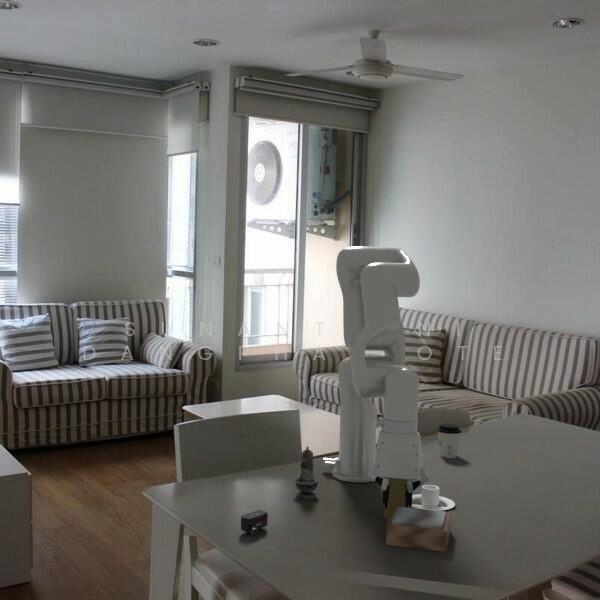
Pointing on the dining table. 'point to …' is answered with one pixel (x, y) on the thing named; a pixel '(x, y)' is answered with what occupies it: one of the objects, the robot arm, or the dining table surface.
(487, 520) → the dining table surface
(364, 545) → the dining table surface
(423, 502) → the candle holder
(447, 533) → the wooden framed mirror
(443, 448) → the coffee cup
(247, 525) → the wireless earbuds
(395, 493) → the cork
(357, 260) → the robot arm
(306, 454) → the dark grey tiered figure
